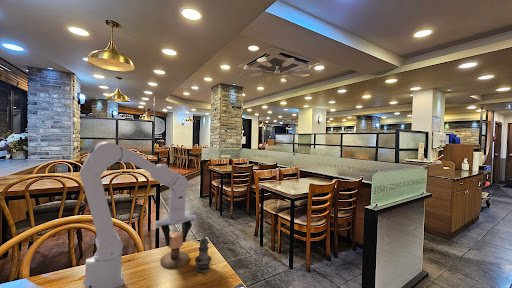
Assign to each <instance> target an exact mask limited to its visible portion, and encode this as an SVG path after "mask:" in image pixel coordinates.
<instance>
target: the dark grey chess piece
mask: <svg viewBox="0 0 512 288" xmlns="http://www.w3.org/2000/svg"><path fill="white" fill-rule="evenodd" d="M208 253H209V239H208V238H206V236H205V235H203V237H202V238H201V239H200V240H199V247H198V255H197V256H196V257H195V258H194V262H195V269H194V272H196V273H198V274H206V273H208V272H209V271H211V266H210V264H211V261H212V257H211V256H210V255H209V254H208Z"/></svg>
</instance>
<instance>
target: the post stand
mask: <svg viewBox="0 0 512 288" xmlns="http://www.w3.org/2000/svg"><path fill="white" fill-rule="evenodd" d="M180 249H181V247H180V248H176V249H171V248H170V252H166V253H165V254H163V255H162V256H161V258H160V260H159V261H160V266H161V267H162V268H164V269H170V270H171V269H178V268H181V267H184V266H186V264H188V262H189V260H190V255H189V254H188V253H187V252H185V251H182V250H180Z"/></svg>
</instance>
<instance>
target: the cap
mask: <svg viewBox="0 0 512 288" xmlns="http://www.w3.org/2000/svg"><path fill="white" fill-rule="evenodd" d="M183 245H184V242H183V233H182V231H181V232H180V231H175V232H170V235H169V246H167V247H168V248H169V249H170V250H171V249H176V248H180V249H181V248H182V247H183Z"/></svg>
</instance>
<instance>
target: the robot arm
mask: <svg viewBox="0 0 512 288" xmlns="http://www.w3.org/2000/svg"><path fill="white" fill-rule="evenodd" d="M87 153H88V154H87V155H86V158H85V160H84V162H83V164H82V165H81V168H80V170H79V176H80V179H81V182H82V183H81V184H82V186H83V190H84V193H85V197H86V201H87V205H88V208H89V211H90V214H91V219H92V221H93V225H94V229H95V233H96V236H95V239H94V243H95V245H96V249H97V250H96V252H95V253H94V255H93V256H91V257H88V258H86V259H85V272H84V278H83V286H84V288H118V287H121V286H123V285H124V279H123V278H124V277H123V273H122V272H123V271H122V260H123V249H124V243H123V241H122V240H121V238H120V236H119V233H118V231H117V230H116V228H115V226H114V223H113V219H112V215H111V214H112V213H111V212H110V211H111V210H110V208H109V204H108V200H107V196H106V193H105V188H104V185H103V182H102V175H103V174H104V173H105V171H106V170H107V169H108V168H109V167H111V166H112V165H114V164H115V163H117V162H119V163H120V164H122V163H124V164H125V163H129V164H131V165H133V166H136V167H139V168H140V169H142V170H144V171H146V172H147V173H149V175H150V178H151V179H152V180H155V181H156V182H157V183H160V184H162V185H164V186H166V187H168V188H169V196H168V197H169V199H168V217H166V218H163V219H159V220H155V221H154V228H155V229H159V228H160V229H161V231H162V234H163V236H164V241H165V245H166V247H168V246H169V235H170V234H171V229H170V226H173V225H181V233H183V243H186V240H187V236H188V234H189V231H190V229H191V228H192V225H193V222H197V215H195V214H190V215H187V214H186V199H187V198H186V197H187V195H186V194H187V190H188V188H189V186H190V183H189V181H188V178H187V177H186V176H183V175H181V174H180V171H177V170H175V171H174V170H173V169H171V168H169V165H168V164H166V163H157V164H155V163H153V162H151V161H150V160H148V159H147V158H145V157H143V156H141V155H140V154H138V153H136V152H135V151H133V150H131V149H128V148H127V147H123V146H120V145H118V144H116V143H114V142H111V141H107V140H103V141H100V142H98V143H96V144H95V145H94V146H92V147H91V148H90V149H89V151H88V152H87Z"/></svg>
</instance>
